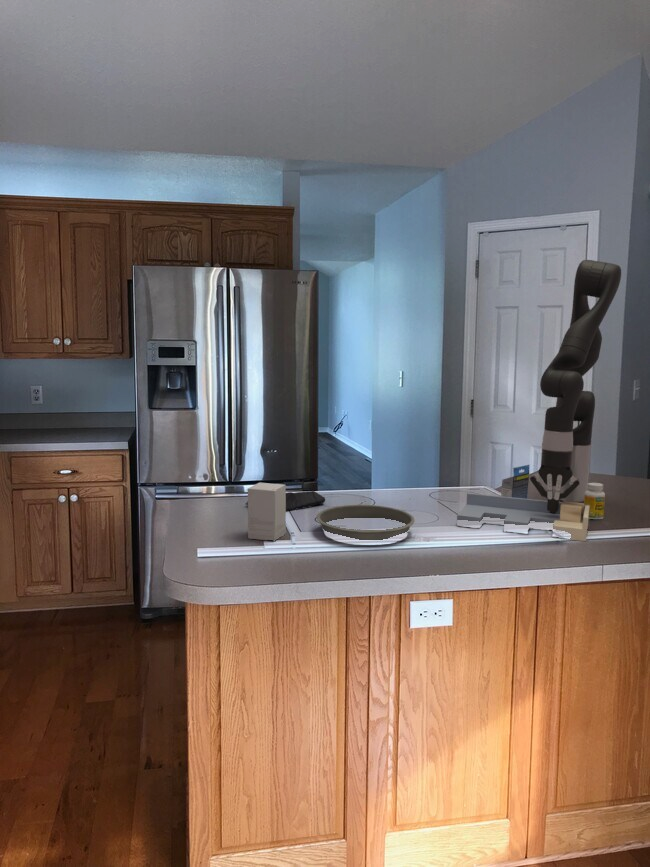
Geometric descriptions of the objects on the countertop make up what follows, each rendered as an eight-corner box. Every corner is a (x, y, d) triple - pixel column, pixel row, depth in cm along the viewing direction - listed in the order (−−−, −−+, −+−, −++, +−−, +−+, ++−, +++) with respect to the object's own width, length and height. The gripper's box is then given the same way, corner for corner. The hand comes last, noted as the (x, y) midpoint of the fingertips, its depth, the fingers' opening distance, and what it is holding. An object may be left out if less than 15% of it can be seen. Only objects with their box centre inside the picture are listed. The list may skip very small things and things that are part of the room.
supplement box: (286, 534, 184) (287, 484, 182) (274, 542, 177) (275, 490, 175) (259, 530, 186) (259, 481, 184) (246, 538, 179) (246, 487, 177)
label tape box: (515, 502, 221) (517, 462, 219) (527, 505, 218) (530, 464, 216) (499, 507, 215) (501, 465, 213) (511, 510, 212) (514, 468, 210)
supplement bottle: (591, 514, 209) (593, 481, 207) (607, 518, 204) (610, 484, 203) (578, 516, 206) (581, 483, 204) (595, 521, 201) (597, 486, 200)
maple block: (562, 515, 194) (563, 501, 194) (582, 518, 192) (583, 503, 192) (559, 520, 190) (560, 505, 189) (580, 522, 188) (581, 507, 187)
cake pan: (304, 524, 194) (304, 507, 193) (391, 518, 201) (391, 502, 201) (333, 552, 171) (334, 533, 170) (430, 544, 178) (431, 526, 177)
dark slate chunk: (332, 508, 212) (332, 492, 211) (262, 516, 201) (262, 499, 200) (307, 496, 225) (307, 481, 224) (240, 504, 214) (240, 488, 214)
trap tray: (466, 513, 206) (467, 492, 206) (587, 527, 195) (589, 505, 194) (456, 526, 194) (457, 504, 193) (585, 541, 182) (587, 517, 181)
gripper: (584, 447, 192) (579, 512, 195) (532, 443, 197) (528, 506, 200) (583, 452, 185) (578, 519, 188) (529, 447, 190) (524, 513, 193)
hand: (552, 512), depth 194 cm, fingers closed
